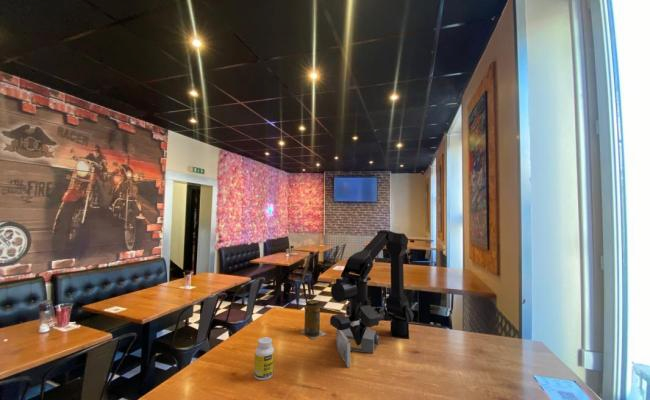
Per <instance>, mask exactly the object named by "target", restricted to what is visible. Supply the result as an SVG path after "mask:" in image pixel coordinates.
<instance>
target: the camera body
mask: <svg viewBox="0 0 650 400" xmlns="http://www.w3.org/2000/svg"><path fill="white" fill-rule="evenodd" d="M342 332H343V333H344V334H345V336H346V337H347V339H348V340H349V342H350V351H355V352H362V353H367V354H368V353H369V354H374V351H375V347H376V346H378V345H379V340H380V337H379V334H376V333H377V331H376V329H367V328H366V330H365V333H364V335H363V338H362V341H361V344H360V345H357V344H356V342H355V340H354V337H353V335H352V332H351V330H350V328H349V329H345V330H342ZM337 339H338V329H337V328H336V340H337Z"/></svg>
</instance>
